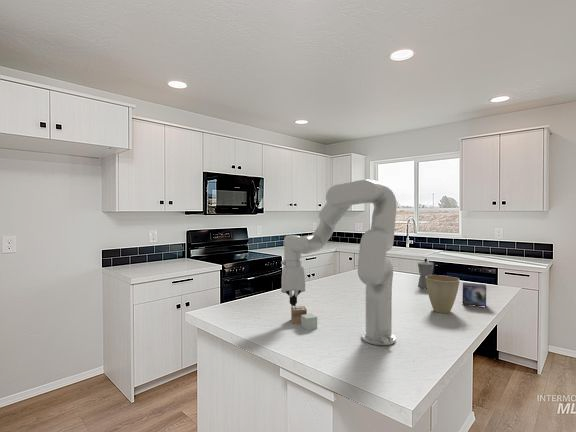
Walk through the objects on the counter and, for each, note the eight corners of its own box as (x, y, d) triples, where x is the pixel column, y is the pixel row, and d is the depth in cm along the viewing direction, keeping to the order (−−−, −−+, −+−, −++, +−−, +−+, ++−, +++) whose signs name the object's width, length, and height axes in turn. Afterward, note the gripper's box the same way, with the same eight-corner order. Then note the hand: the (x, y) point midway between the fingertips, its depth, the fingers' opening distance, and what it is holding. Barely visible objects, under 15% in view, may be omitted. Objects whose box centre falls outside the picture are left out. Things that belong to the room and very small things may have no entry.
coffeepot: (424, 290, 201) (424, 260, 201) (412, 286, 209) (412, 258, 209) (441, 287, 208) (441, 258, 208) (429, 284, 216) (429, 256, 216)
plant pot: (448, 318, 150) (448, 282, 149) (419, 309, 162) (419, 277, 162) (465, 312, 158) (466, 278, 157) (436, 304, 170) (436, 273, 170)
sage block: (317, 328, 138) (317, 316, 137) (306, 330, 136) (306, 318, 135) (311, 325, 142) (311, 313, 142) (301, 326, 140) (301, 315, 140)
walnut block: (292, 310, 143) (293, 324, 143) (306, 309, 143) (306, 323, 144) (291, 306, 149) (291, 319, 149) (304, 305, 149) (304, 319, 150)
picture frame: (462, 305, 169) (462, 284, 169) (462, 302, 175) (462, 282, 175) (486, 308, 164) (486, 287, 164) (485, 304, 170) (485, 284, 170)
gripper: (277, 265, 140) (277, 308, 141) (311, 264, 143) (311, 306, 143) (274, 263, 148) (275, 304, 148) (307, 261, 150) (307, 302, 151)
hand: (293, 305), depth 146 cm, fingers closed
